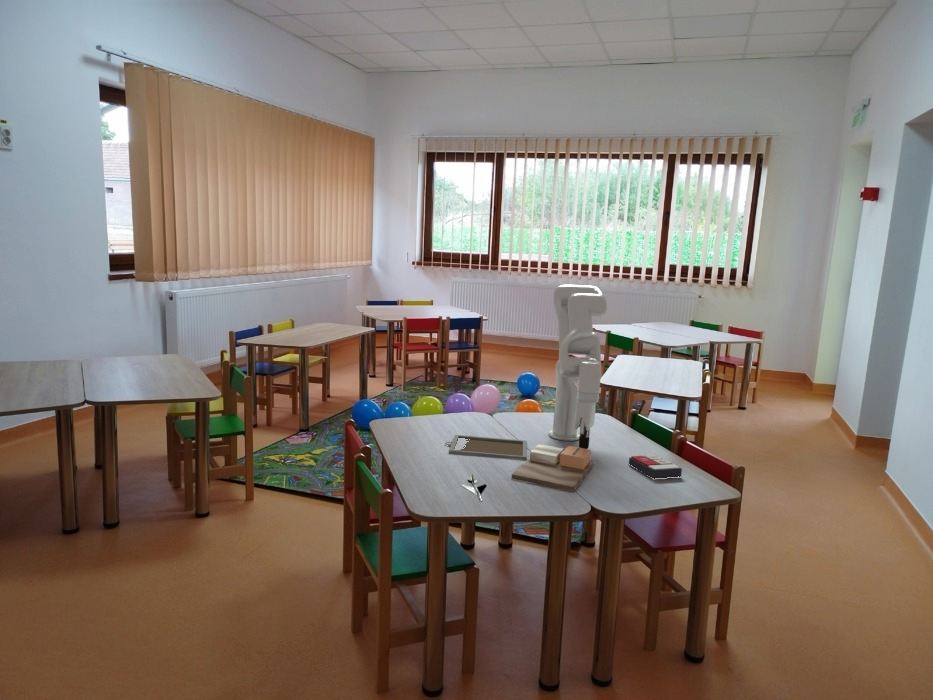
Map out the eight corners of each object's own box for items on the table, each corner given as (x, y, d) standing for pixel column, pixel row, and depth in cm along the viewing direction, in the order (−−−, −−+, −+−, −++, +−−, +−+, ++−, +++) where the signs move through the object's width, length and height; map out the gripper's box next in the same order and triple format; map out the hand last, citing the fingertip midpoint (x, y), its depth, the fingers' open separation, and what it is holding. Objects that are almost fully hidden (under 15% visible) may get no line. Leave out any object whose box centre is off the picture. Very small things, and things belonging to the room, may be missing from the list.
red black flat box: (655, 453, 223) (682, 466, 209) (654, 465, 223) (681, 478, 209) (628, 455, 219) (654, 468, 205) (628, 467, 220) (653, 480, 206)
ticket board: (538, 454, 225) (539, 442, 224) (594, 464, 217) (595, 452, 216) (511, 478, 200) (512, 465, 199) (573, 491, 192) (574, 477, 191)
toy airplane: (468, 503, 180) (468, 495, 180) (457, 476, 200) (457, 469, 200) (494, 502, 181) (495, 495, 181) (481, 476, 202) (481, 469, 201)
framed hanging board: (527, 457, 218) (441, 449, 221) (526, 461, 218) (441, 454, 221) (527, 440, 237) (448, 434, 240) (526, 444, 237) (448, 438, 240)
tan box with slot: (567, 456, 219) (568, 445, 218) (590, 461, 215) (591, 449, 215) (559, 465, 210) (560, 453, 209) (583, 469, 206) (584, 457, 206)
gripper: (582, 391, 226) (578, 441, 229) (571, 398, 213) (567, 451, 215) (603, 394, 223) (598, 444, 226) (593, 401, 210) (589, 455, 212)
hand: (583, 447), depth 220 cm, fingers closed
